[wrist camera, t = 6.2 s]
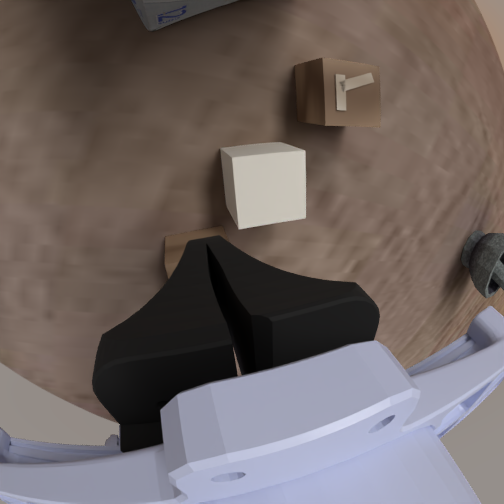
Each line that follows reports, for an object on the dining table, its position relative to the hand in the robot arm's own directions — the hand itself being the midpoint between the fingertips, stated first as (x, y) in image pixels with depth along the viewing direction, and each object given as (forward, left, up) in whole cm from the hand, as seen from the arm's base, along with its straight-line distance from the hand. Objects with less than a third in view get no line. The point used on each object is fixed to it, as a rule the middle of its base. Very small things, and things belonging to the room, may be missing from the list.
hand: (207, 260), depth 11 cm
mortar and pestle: (-13, -40, -11) cm, 43 cm away
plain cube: (+1, -5, -10) cm, 11 cm away
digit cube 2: (+7, -11, -10) cm, 16 cm away
